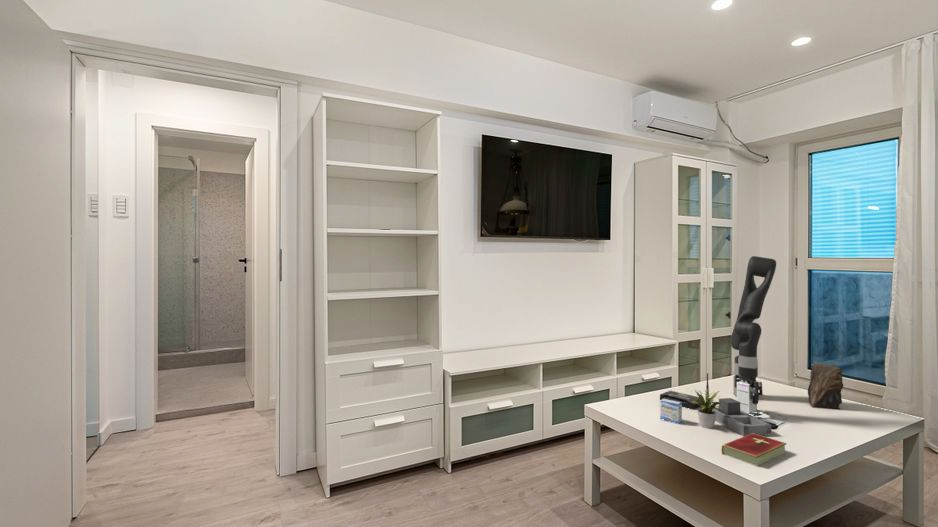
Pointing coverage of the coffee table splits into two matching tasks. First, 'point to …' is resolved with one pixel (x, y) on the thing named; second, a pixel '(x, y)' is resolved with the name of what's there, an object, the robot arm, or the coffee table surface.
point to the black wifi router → (683, 398)
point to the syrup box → (745, 398)
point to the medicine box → (671, 410)
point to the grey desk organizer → (740, 419)
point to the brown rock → (825, 386)
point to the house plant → (707, 410)
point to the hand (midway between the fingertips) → (748, 401)
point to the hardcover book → (754, 449)
